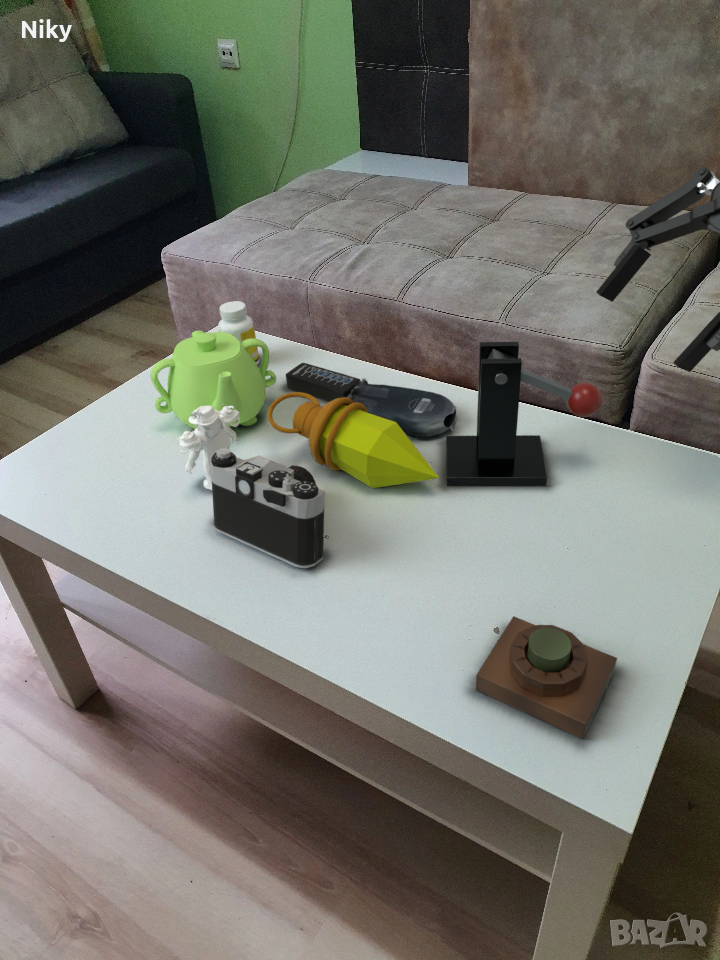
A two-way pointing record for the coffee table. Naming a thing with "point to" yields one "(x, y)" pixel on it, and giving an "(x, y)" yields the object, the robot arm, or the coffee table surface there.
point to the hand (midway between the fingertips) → (640, 330)
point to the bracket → (496, 430)
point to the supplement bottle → (238, 324)
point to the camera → (269, 507)
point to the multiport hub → (320, 382)
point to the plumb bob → (356, 441)
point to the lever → (562, 390)
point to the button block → (546, 679)
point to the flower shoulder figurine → (208, 436)
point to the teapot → (214, 377)
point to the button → (549, 649)
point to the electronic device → (407, 407)
